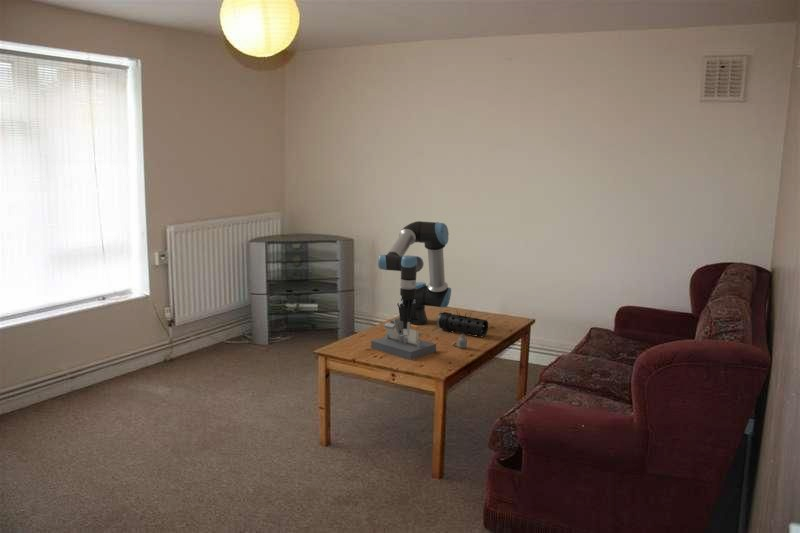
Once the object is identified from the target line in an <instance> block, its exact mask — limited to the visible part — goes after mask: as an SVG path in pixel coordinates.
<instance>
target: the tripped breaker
mask: <svg viewBox="0 0 800 533" xmlns="http://www.w3.org/2000/svg"><path fill="white" fill-rule="evenodd" d="M419 330H420V325H412V324H410V334H409V335H408V341H407V343H410V344H414V345H418V339H419V335H420V334H419Z"/></svg>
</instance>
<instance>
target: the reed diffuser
mask: <svg viewBox="0 0 800 533" xmlns="http://www.w3.org/2000/svg"><path fill="white" fill-rule="evenodd" d="M456 315H459V317H460V315H461V314H460V312H459V313H458V311H456ZM464 316H465V319H466V317H467V314H465V315H464ZM471 316H472V314H470V315H469V316H468V317H469V319H470V317H471ZM459 317H458V319H459ZM468 322H469V320H468ZM459 324H461V320H460V321H459ZM467 325H468V323H467ZM464 327H465V322H464ZM466 328H467V326H466ZM460 329H461V332H460V337H458V338H457V343H456V342H455V341H453V342H452V344H451V345H452V346H453V347H458V348H460V349H461V348H462V349H465V348H467V343H468V339H467V338H466V337H465V335H466V334H464V333H465V332H464V330H463V333H462V327H461V326H460ZM465 331H466V329H465Z"/></svg>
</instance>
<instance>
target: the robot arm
mask: <svg viewBox="0 0 800 533" xmlns="http://www.w3.org/2000/svg"><path fill="white" fill-rule="evenodd" d="M449 235H450V234H449V228H448V226H447V224H446V223H444V222H437V221H436V222H434V221H421V220H420V221H419V220H418V221H414V222H411V223H408V224H406V225H405V226H404V227H403V228H402V229H400V231H399V233H398V238H397V239H396V241H395V242H394V243H393V245H392V247H391V248H390V250H389V251H388V252H387V254H386V253H385V254H380V255H379V257H378V260H377V266H378V269H379V270H383V271H384V270H385V271H393V272H400V290H399V295H400V296H401V298H400V302H397V307H398V312H399V318H400V321H402V322H403V329H404V330H403V335H404V336H408V335H409V334H410V324H412V325H416V326H420V325H425V324H427V323H428V317H427V314H426V310H425V307H426V306H427V307H428V306H429V307H435V308H436V307H437V308H447V307H448V305H449V304H450V300H451V296H452V288H451V287H449V284H448V283H447V282H446V279H445V276H446V275H445V262H444V261H445V257H444V248H445V247H446V245H447V244H448V243H449ZM415 243H421V244H424V248H425V249H427V258H428V260H427V261H428V273H429V275H428V276H429V283H428V284H427V283H426V282H423V281H417V273H418V272H420V271H421V270H422V269H423V268H424V260H423V259H422V258H421V257H420V256H418V255H417V256H416V255H405V254H406V252H407V251H408V249H409V248H410V246H411V245H414V244H415Z"/></svg>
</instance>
